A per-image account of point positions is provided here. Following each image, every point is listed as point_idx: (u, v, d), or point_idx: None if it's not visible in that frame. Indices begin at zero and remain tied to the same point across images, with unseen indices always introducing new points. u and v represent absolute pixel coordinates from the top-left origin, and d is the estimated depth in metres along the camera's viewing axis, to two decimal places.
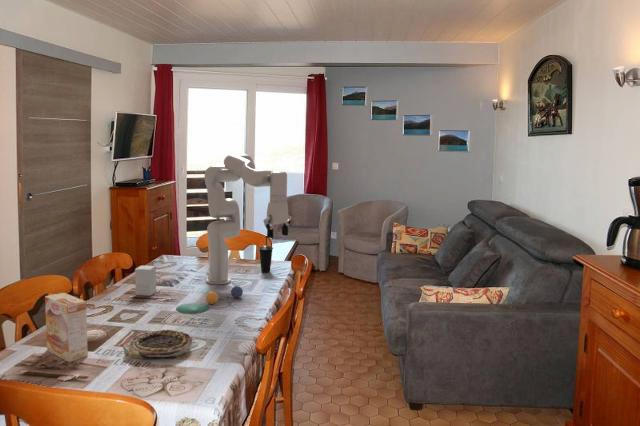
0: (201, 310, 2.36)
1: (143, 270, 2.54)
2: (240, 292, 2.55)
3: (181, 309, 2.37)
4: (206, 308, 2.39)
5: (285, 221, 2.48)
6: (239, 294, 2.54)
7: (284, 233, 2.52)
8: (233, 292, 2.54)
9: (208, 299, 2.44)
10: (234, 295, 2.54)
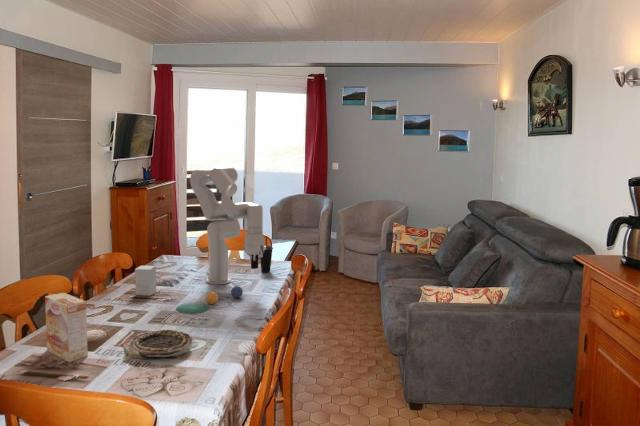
0: (201, 310, 2.36)
1: (143, 270, 2.54)
2: (240, 292, 2.55)
3: (181, 309, 2.37)
4: (206, 308, 2.39)
5: None
6: (239, 294, 2.54)
7: None
8: (233, 292, 2.54)
9: (208, 299, 2.44)
10: (234, 295, 2.54)
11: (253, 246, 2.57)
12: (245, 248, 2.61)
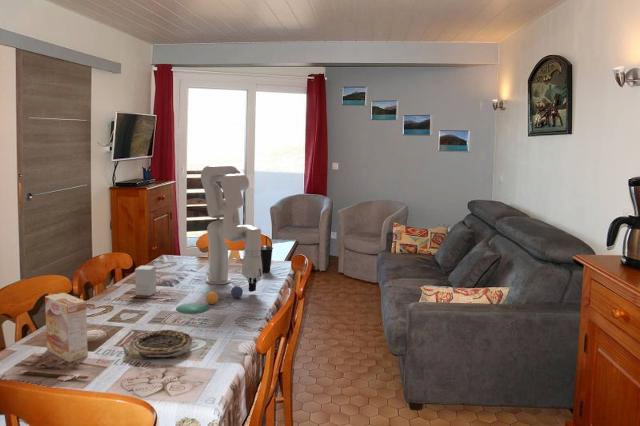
0: (201, 310, 2.36)
1: (143, 270, 2.54)
2: (240, 292, 2.55)
3: (181, 309, 2.37)
4: (206, 308, 2.39)
5: None
6: (239, 294, 2.54)
7: None
8: (233, 292, 2.54)
9: (208, 299, 2.44)
10: (234, 295, 2.54)
11: (251, 269, 2.58)
12: (243, 271, 2.62)
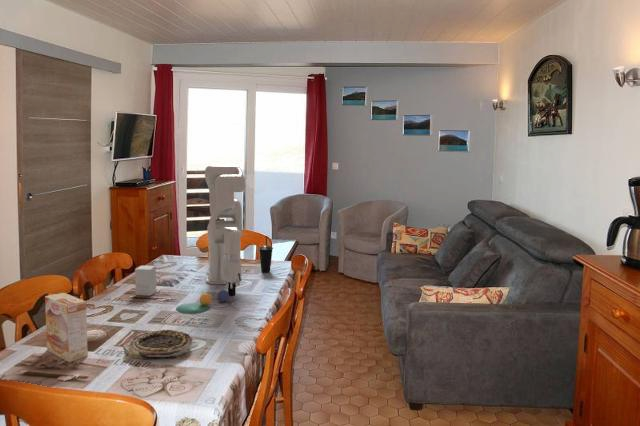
0: (201, 310, 2.36)
1: (143, 270, 2.54)
2: (226, 299, 2.48)
3: (181, 309, 2.37)
4: (206, 308, 2.39)
5: None
6: (228, 297, 2.48)
7: None
8: None
9: (205, 305, 2.43)
10: None
11: (230, 274, 2.49)
12: (222, 275, 2.53)
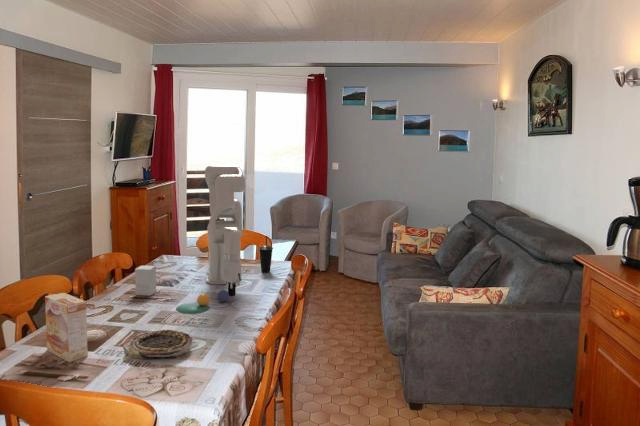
0: (201, 310, 2.36)
1: (143, 270, 2.54)
2: (226, 299, 2.48)
3: (181, 309, 2.37)
4: (206, 308, 2.39)
5: None
6: (228, 297, 2.48)
7: None
8: None
9: (205, 305, 2.43)
10: None
11: (230, 274, 2.49)
12: (222, 275, 2.53)
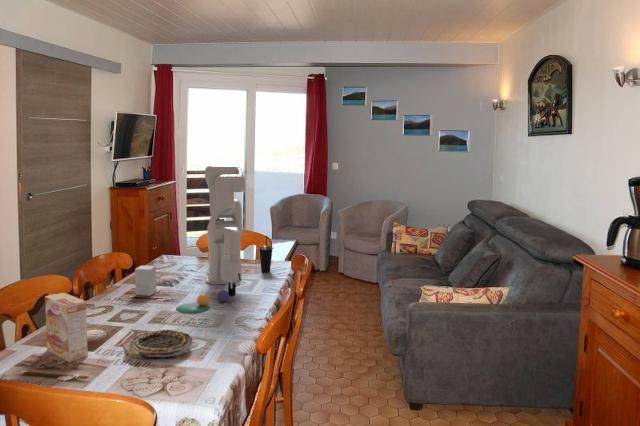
0: (201, 310, 2.36)
1: (143, 270, 2.54)
2: (226, 299, 2.48)
3: (181, 309, 2.37)
4: (206, 308, 2.39)
5: None
6: (228, 297, 2.48)
7: None
8: None
9: (205, 305, 2.43)
10: None
11: (230, 274, 2.49)
12: (222, 275, 2.53)
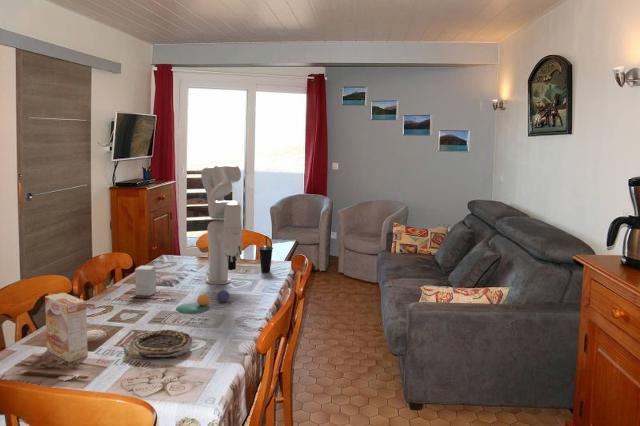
0: (201, 310, 2.36)
1: (143, 270, 2.54)
2: (226, 299, 2.48)
3: (181, 309, 2.37)
4: (206, 308, 2.39)
5: None
6: (228, 297, 2.48)
7: None
8: None
9: (205, 305, 2.43)
10: None
11: (230, 247, 2.47)
12: (222, 249, 2.52)
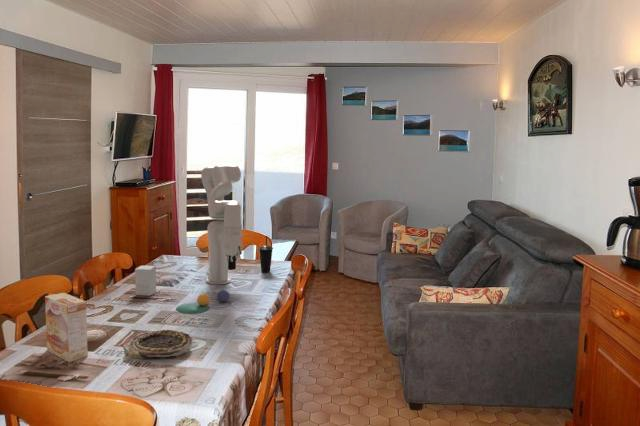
0: (201, 310, 2.36)
1: (143, 270, 2.54)
2: (226, 299, 2.48)
3: (181, 309, 2.37)
4: (206, 308, 2.39)
5: None
6: (228, 297, 2.48)
7: None
8: None
9: (205, 305, 2.43)
10: None
11: (230, 247, 2.47)
12: (222, 248, 2.52)
